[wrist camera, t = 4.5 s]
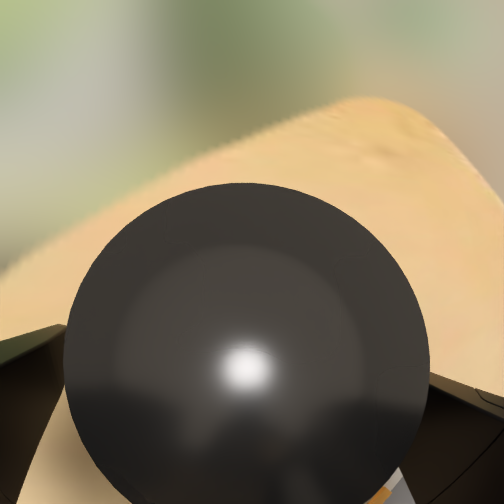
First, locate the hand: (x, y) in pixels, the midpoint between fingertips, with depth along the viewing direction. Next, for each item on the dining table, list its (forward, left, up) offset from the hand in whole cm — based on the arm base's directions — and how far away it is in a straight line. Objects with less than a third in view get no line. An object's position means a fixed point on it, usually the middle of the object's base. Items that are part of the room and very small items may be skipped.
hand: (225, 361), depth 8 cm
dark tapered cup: (0, 0, -8) cm, 8 cm away
